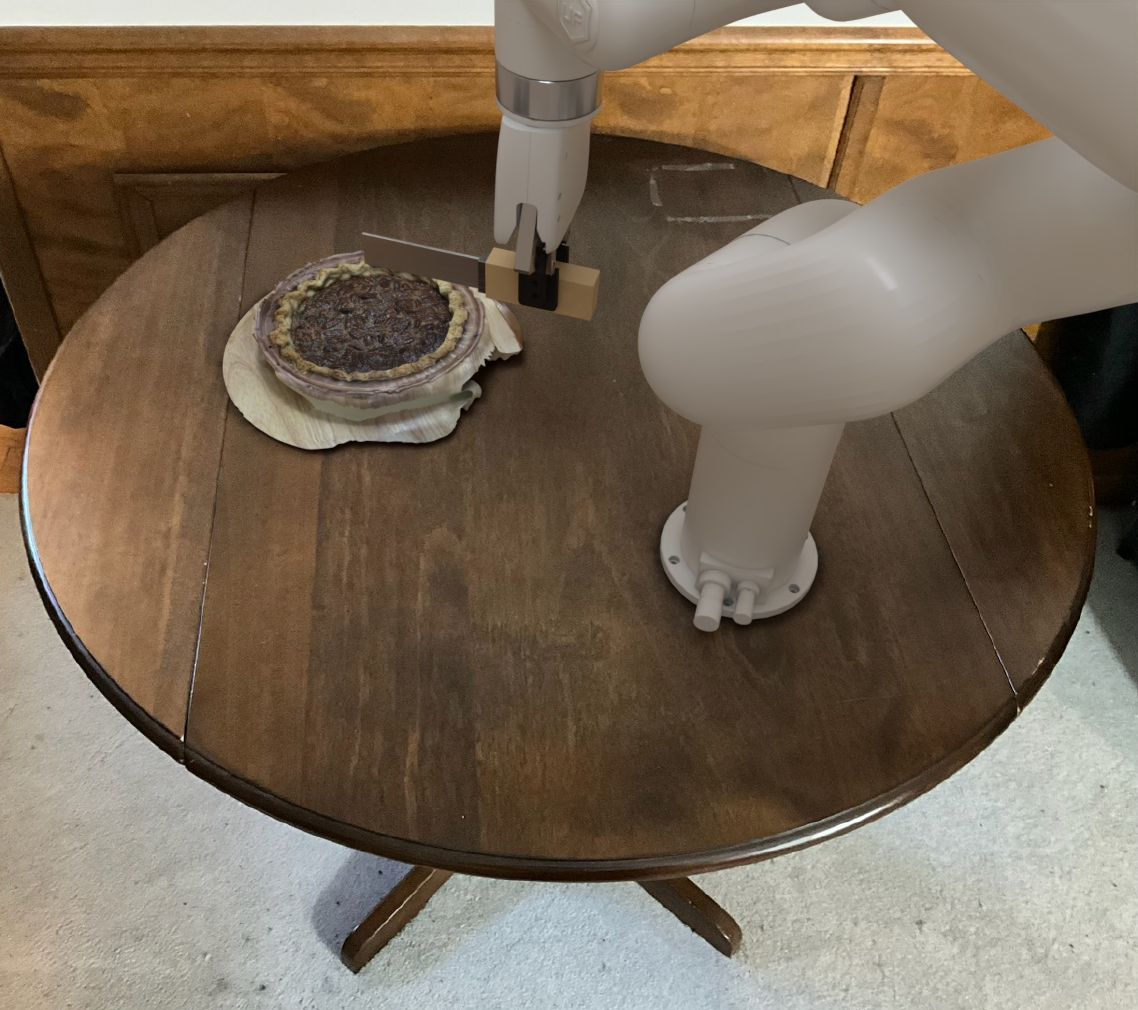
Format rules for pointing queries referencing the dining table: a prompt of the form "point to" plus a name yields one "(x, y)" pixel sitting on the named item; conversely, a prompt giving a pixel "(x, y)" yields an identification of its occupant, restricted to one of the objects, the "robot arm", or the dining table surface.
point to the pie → (363, 354)
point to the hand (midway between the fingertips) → (543, 293)
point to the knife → (483, 272)
